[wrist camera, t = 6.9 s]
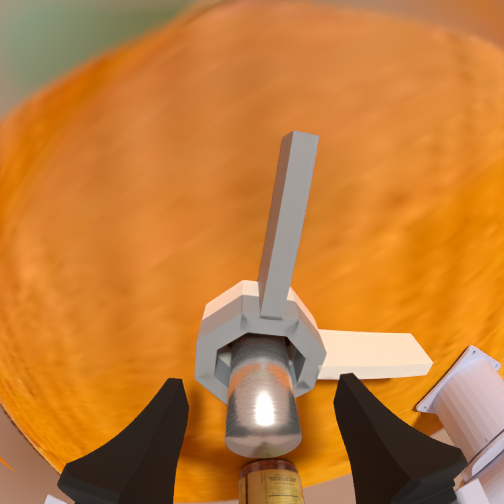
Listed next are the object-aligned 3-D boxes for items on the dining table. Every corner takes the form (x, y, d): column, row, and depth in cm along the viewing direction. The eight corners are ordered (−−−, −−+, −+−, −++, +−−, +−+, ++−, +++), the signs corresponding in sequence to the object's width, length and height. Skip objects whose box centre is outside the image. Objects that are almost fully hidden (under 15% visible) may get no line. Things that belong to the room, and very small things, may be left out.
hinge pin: (291, 321, 16) (317, 429, 9) (268, 356, 17) (277, 462, 10) (246, 302, 16) (244, 413, 8) (225, 340, 17) (213, 449, 9)
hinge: (201, 362, 17) (193, 400, 14) (228, 129, 13) (222, 119, 10) (391, 372, 18) (408, 403, 15) (456, 187, 14) (493, 197, 10)
